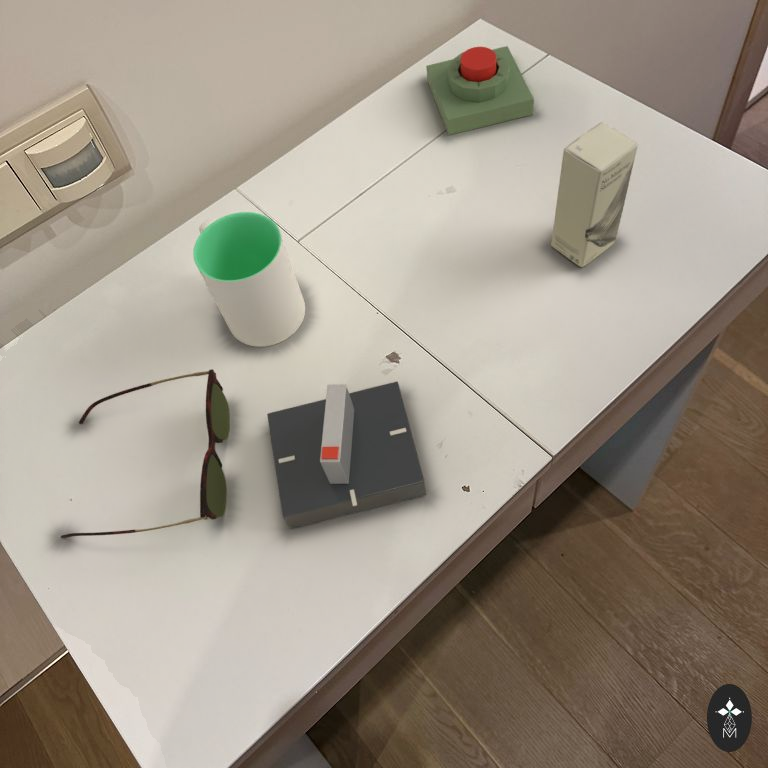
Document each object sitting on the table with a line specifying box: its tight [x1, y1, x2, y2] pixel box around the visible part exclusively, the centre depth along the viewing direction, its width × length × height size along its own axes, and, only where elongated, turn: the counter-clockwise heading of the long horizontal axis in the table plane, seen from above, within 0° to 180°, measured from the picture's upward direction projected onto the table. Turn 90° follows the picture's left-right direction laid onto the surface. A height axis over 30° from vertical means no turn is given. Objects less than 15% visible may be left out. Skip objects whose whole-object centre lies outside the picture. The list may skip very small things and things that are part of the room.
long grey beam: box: [320, 383, 354, 484], centre depth 62 cm, size 7×2×5 cm, turn 177°
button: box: [460, 46, 496, 82], centre depth 84 cm, size 4×4×2 cm
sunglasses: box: [60, 368, 231, 539], centre depth 67 cm, size 14×15×5 cm
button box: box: [425, 45, 535, 136], centre depth 87 cm, size 10×10×4 cm
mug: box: [192, 211, 306, 348], centre depth 72 cm, size 12×8×10 cm, turn 42°
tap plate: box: [266, 381, 428, 529], centre depth 65 cm, size 12×11×3 cm
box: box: [550, 121, 639, 268], centre depth 70 cm, size 5×4×13 cm
